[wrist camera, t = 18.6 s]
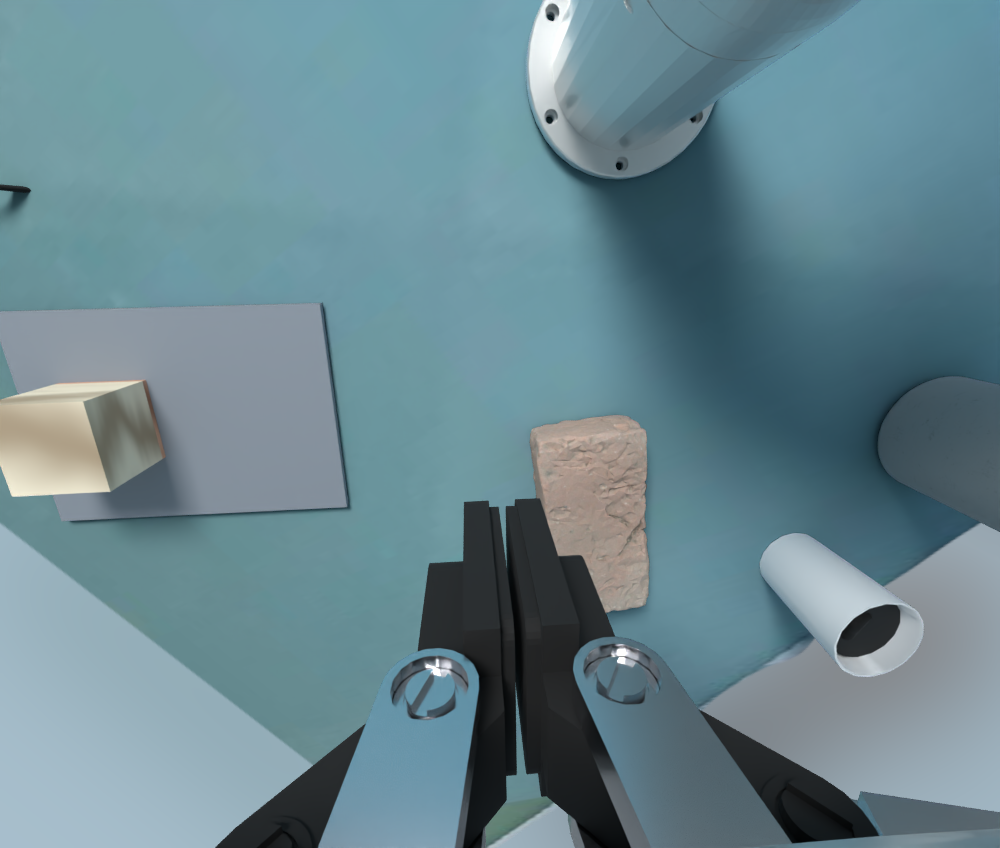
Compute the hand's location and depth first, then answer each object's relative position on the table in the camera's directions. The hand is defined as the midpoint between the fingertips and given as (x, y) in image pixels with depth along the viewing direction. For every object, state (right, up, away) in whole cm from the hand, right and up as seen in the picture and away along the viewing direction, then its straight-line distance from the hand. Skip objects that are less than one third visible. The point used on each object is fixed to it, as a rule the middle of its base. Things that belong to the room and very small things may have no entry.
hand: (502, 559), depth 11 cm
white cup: (+26, -9, +34) cm, 44 cm away
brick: (+7, -4, +31) cm, 32 cm away
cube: (-28, +1, +19) cm, 34 cm away
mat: (-24, +4, +26) cm, 35 cm away
